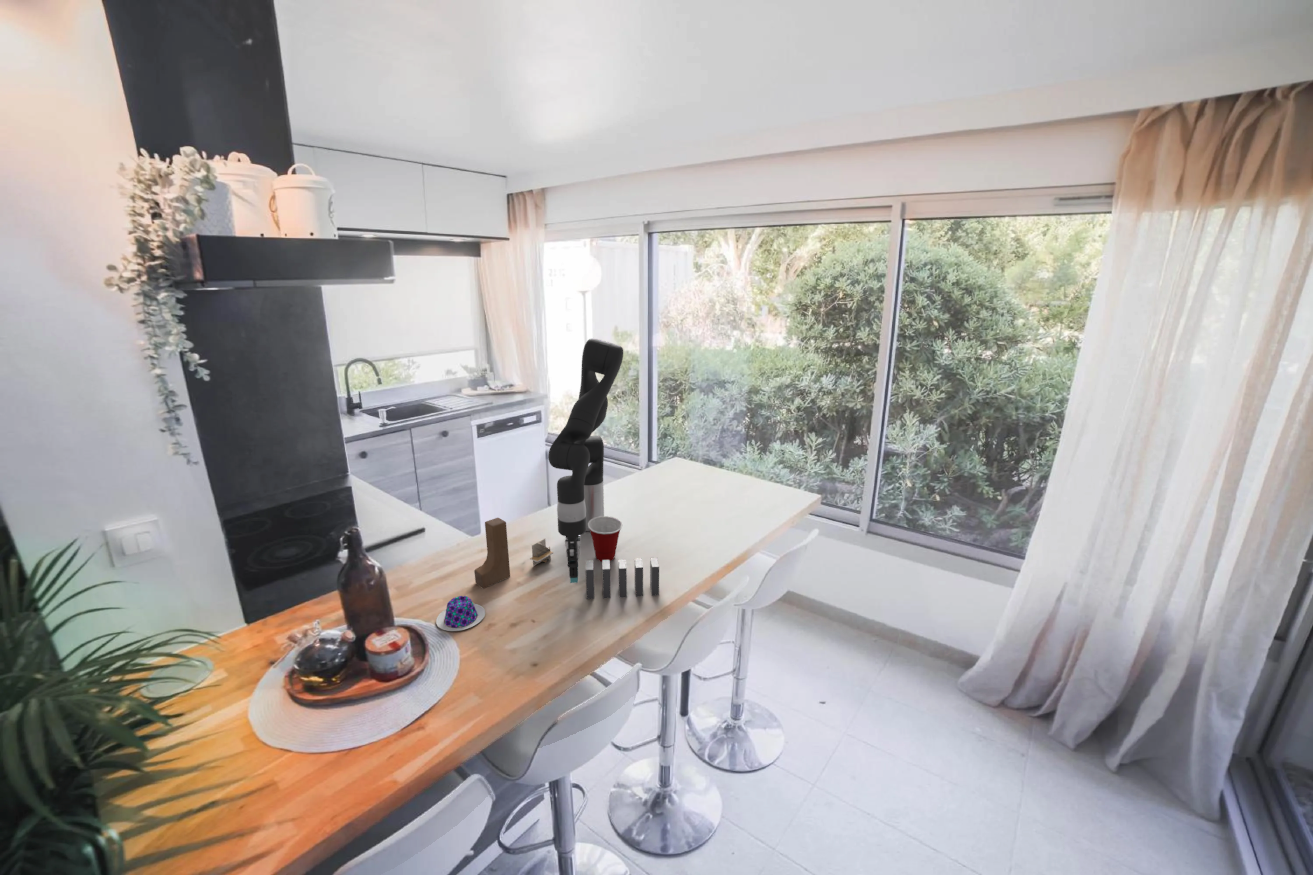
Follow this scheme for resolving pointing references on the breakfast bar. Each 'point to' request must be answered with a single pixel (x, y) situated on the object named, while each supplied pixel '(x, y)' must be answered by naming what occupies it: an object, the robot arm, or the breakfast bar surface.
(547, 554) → the architectural model
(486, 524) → the wooden block
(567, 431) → the robot arm
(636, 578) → the domino
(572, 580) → the domino
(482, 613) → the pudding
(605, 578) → the domino
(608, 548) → the plastic cup
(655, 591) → the domino
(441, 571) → the breakfast bar surface
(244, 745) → the breakfast bar surface
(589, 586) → the domino
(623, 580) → the domino
